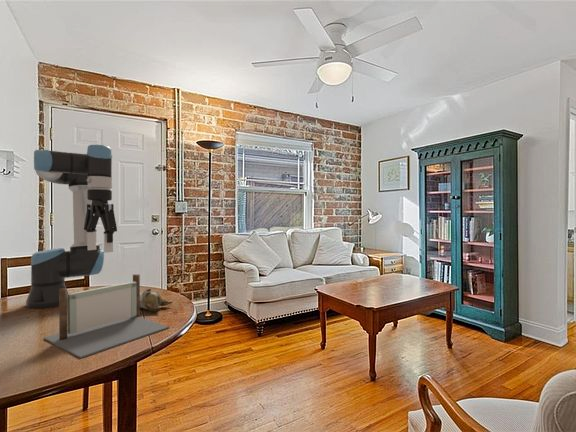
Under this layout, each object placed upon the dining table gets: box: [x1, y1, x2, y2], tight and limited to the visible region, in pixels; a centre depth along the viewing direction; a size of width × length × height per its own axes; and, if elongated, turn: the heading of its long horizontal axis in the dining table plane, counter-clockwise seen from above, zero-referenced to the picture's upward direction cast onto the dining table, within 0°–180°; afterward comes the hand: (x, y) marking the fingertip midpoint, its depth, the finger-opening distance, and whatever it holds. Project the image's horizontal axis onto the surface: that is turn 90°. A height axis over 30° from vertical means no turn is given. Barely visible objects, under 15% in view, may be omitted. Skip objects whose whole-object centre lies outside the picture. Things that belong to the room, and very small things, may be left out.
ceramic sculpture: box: [140, 288, 173, 312], centre depth 133 cm, size 11×9×15 cm
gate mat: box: [43, 316, 170, 359], centre depth 106 cm, size 24×28×1 cm
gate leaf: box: [67, 281, 137, 334], centre depth 111 cm, size 22×2×12 cm, turn 146°
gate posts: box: [58, 273, 141, 340], centre depth 112 cm, size 2×28×16 cm, turn 152°
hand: (100, 251), depth 116 cm, fingers open, 11 cm apart
